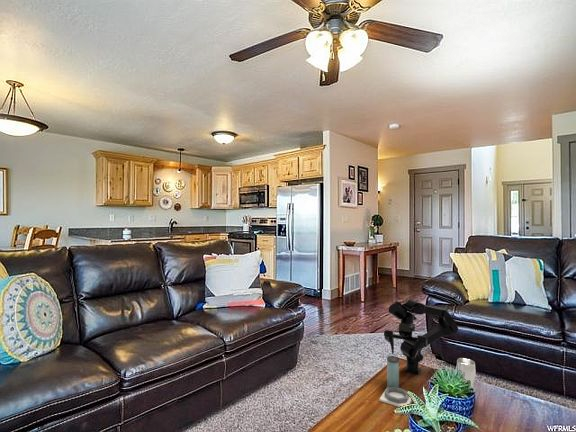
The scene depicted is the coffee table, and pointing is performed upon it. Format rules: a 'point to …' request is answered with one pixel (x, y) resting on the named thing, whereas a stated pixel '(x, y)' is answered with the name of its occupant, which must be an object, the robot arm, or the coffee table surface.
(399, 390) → the mount plate
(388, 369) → the teal cylinder
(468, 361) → the beer glass
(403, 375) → the coffee table surface
